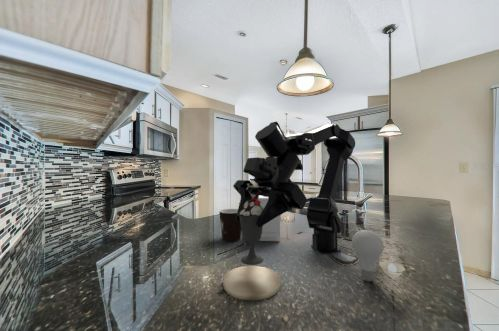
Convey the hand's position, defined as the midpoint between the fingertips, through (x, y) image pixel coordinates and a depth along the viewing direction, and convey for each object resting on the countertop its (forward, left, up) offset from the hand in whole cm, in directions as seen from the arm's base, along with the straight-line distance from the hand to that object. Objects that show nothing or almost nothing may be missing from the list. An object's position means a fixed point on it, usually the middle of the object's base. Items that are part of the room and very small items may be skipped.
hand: (246, 223), depth 46 cm
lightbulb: (-26, +4, -13) cm, 30 cm away
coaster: (-1, -1, -13) cm, 13 cm away
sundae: (-1, -1, -8) cm, 8 cm away
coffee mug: (-2, -34, -13) cm, 36 cm away
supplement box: (-15, -31, -13) cm, 37 cm away
